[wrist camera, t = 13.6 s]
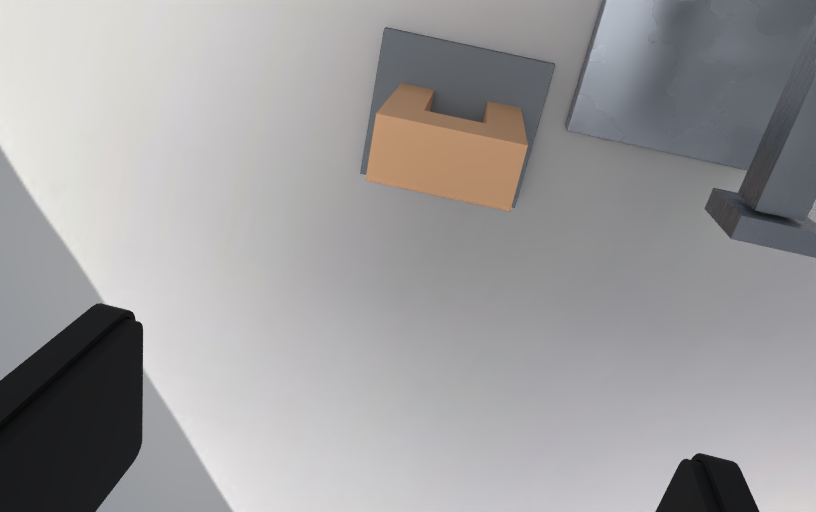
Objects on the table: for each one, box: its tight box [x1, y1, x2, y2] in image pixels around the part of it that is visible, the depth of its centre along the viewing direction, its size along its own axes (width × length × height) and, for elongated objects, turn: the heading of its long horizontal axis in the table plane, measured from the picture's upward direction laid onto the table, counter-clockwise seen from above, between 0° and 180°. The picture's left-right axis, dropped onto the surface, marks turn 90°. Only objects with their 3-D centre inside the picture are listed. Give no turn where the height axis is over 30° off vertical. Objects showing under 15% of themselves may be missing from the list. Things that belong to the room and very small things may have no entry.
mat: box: [360, 27, 555, 208], centre depth 35 cm, size 9×8×1 cm
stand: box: [565, 0, 816, 258], centre depth 25 cm, size 10×12×15 cm
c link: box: [366, 83, 528, 211], centre depth 31 cm, size 6×3×8 cm, turn 79°
